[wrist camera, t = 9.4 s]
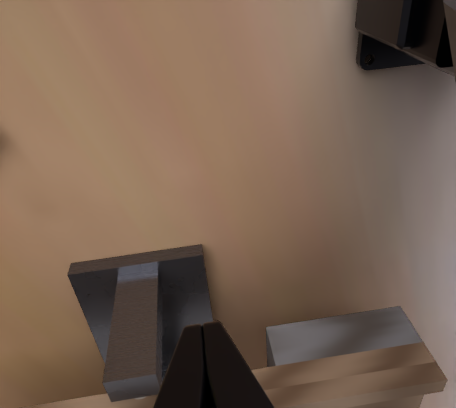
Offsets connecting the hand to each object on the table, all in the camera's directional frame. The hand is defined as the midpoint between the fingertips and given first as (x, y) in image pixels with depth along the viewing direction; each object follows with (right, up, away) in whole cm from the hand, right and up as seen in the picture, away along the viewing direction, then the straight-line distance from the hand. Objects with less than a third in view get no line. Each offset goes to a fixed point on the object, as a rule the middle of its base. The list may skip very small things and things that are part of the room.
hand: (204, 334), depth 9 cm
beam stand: (-5, -6, +19) cm, 20 cm away
